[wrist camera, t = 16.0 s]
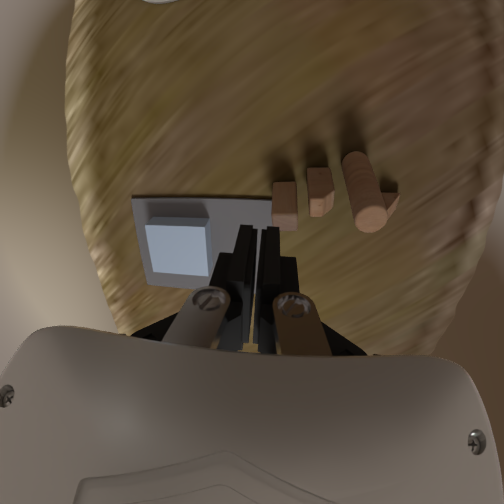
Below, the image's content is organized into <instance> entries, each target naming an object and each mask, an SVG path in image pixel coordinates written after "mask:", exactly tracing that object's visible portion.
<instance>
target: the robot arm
mask: <svg viewBox="0 0 504 504" xmlns="http://www.w3.org/2000/svg"><path fill="white" fill-rule="evenodd" d="M143 1H145V2H148V3H154V4H162V3H169V2H173V1H177V0H143ZM257 235H258V229H254V228H253V225H243V224H240V228H239V231H238V235H237V239H236V243H235V247H234V251H233V253H226V252H220V253H219V255H218V258H217V261H216V264H215V267H214V271H213V274H212V277H211V280H210V283H209V286H205V287H201V288H198V289H196V290H194V291H193V292H192V293H191V294H190V295H189V297H188V298H187V300H186V302H185V303H184V305H183V306H182V308H181V310H180V311H179V312H178V313H176V314H173V315H171V316H169V317H167V318H165V319H163V320H160V321H158V322H156V323H154V324H152V325H149V326H147V327H145V328H143V329H141V330H138V331H137V332H135V333H133V334H132V335H131V336H126V334H116V333H111V332H106V331H100V330H95V329H90V328H85V327H77V326H53V327H46V328H42V329H40V330H37V331H35V332H33V333H32V334H31V335H30V336H29V337H28V338H27V339H26V340H25V341H24V342H23V343H22V344H21V346H20V347H19V348H18V349H17V351H16V352H15V354H14V355H13V357H12V358H11V359H10V361H9V362H8V364H7V366H6V367H5V369H4V371H3V372H2V374H1V376H0V504H504V501H503V489H502V488H503V487H502V479H501V470H500V464H499V460H498V454H497V449H496V445H495V441H494V437H493V433H492V429H491V425H490V422H489V419H488V416H487V413H486V410H485V407H484V405H483V402H482V399H481V397H480V395H479V392H478V390H477V388H476V386H475V384H474V382H473V381H472V379H471V377H470V376H469V374H468V373H467V372H466V371H465V370H464V368H462V367H461V366H459V365H458V364H456V363H454V362H452V361H449V360H446V359H442V358H439V357H433V356H426V355H378V354H373V356H368V355H367V354H366V353H365V352H364V351H363V350H362V349H361V348H359V347H358V346H356V345H355V344H353V343H352V342H350V341H349V340H347V339H346V338H344V337H343V336H341V335H340V334H339V333H337V332H336V331H334V330H333V329H331V328H330V327H328V326H327V325H325V324H324V323H323V322H321V321H320V318H319V315H318V312H317V309H316V307H315V304H314V302H313V301H312V300H311V299H310V298H309V297H308V296H306V295H304V294H301V293H299V282H298V272H297V263H296V257H284V256H280V230H279V227H274V226H267V229H262V231H261V241H260V251H259V261H258V271H257V281H256V296H255V313H254V331H253V343H255V344H258V352H261V353H251V352H239V351H238V350H242V348H243V343H248V342H249V334H250V325H251V316H252V306H253V297H254V288H255V274H256V255H257Z"/></svg>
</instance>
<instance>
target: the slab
mask: <svg viewBox="0 0 504 504" xmlns="http://www.w3.org/2000/svg"><path fill="white" fill-rule="evenodd" d="M145 229H146V235H147V241H148V246H149V252H150V257H151V262H152V267H153V272H161V273H173V274H185V275H197V276H209V274H210V271H211V269H212V266H213V262H212V248H211V231H210V218H183V217H152V218H151V219H150V220H149V221H148V222H147V223H146V224H145Z"/></svg>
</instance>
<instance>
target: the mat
mask: <svg viewBox="0 0 504 504" xmlns="http://www.w3.org/2000/svg"><path fill="white" fill-rule="evenodd" d="M131 202H132V209H133V215H134V221H135V227H136V232H137V237H138V243H139V248H140V253H141V257H142V262H143V267H144V271H145V275H146V280H147V284H148V285H156V286H166V287H176V288H187V289H198V288H201V287H205V286H209V283H210V280H211V277H212V274H213V271H214V267H215V264H216V261H217V258H218V255H219V253H220V252H226V253H233V251H234V247H235V243H236V239H237V235H238V231H239V228H240V224H243V225H253V228H254V229H258V235H257V255H256V274H255V288H254V294H256V281H257V271H258V261H259V251H260V241H261V231H262V229H267V226H273V225H272V217H271V210H272V200H267V199H242V198H199V197H155V198H132V199H131ZM152 217H183V218H210V231H211V248H212V262H213V266H212V269H211V271H210V274H209V276H197V275H185V274H173V273H161V272H153V267H152V262H151V257H150V252H149V246H148V241H147V235H146V229H145V224H146V223H147V222H148V221H149V220H150V219H151V218H152Z"/></svg>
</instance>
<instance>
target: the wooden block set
mask: <svg viewBox="0 0 504 504" xmlns="http://www.w3.org/2000/svg"><path fill="white" fill-rule="evenodd" d="M342 171H343V175H344V179H345V183H346V187H347V191H348V195H349V200H350V204H351V209H352V213H353V218H354V223H355V225H356V227H357V228H358V229H359V230H360V231H363V232H368V233H369V232H375V231H377V230H379V229H381V228H382V227H383V226H384V225H385V224H386V222H387V220H388V218H389V217H390V216H391V214H392V213H393V212H394V210H395V209H396V207H397V204H398V201H399V197H400V193H384V192H382V193H381V191H380V188H379V185H378V182H377V180H376V177H375V174H374V172H373V169H372V166H371V164H370V161H369V159H368V157H367V156H366V155H365V154H364V153H362V152H358V151H355V152H351V153H349V154H347V155H346V156H345V158H344V159H343V161H342ZM307 190H308V202H309V215H310V216H311V217H320V216H323V215H324V214H325V213H327V212H328V211H329V210H330V209H332V208H333V202H334V192H335V189H334V184H333V179H332V174H331V170H330V168H308V169H307ZM271 217H272V225H273V226H274V227H279V230H280V231H296V230H297V229H298V210H297V185H296V182H274V183H273V191H272V210H271Z"/></svg>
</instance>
